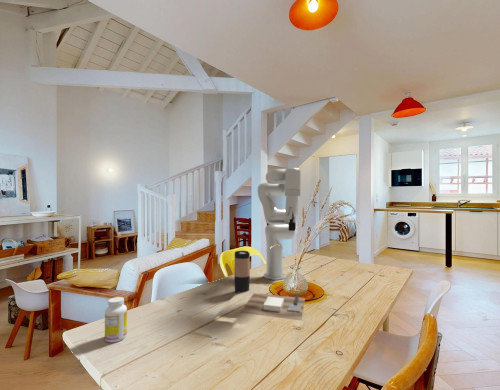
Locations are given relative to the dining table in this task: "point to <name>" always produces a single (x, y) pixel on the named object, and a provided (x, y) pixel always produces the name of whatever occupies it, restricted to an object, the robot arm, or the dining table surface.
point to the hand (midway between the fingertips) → (292, 230)
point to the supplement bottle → (115, 320)
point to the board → (257, 307)
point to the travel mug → (242, 271)
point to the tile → (274, 304)
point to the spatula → (294, 306)
